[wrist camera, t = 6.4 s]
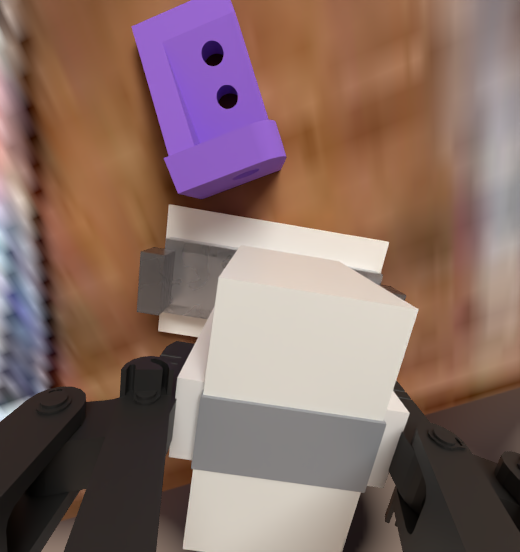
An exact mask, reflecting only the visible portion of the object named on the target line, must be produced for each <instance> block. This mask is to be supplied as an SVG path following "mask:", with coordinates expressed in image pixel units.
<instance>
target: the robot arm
mask: <svg viewBox="0 0 520 552" xmlns="http://www.w3.org/2000/svg"><path fill="white" fill-rule="evenodd" d="M214 308H215V306H214ZM214 308H213V310H212V312H211V314H210V316H209V318H208V320H207V322H206V324H205V325H204V327H203V329H202V331H201V333H200V335H199V337H198V339H197V341H196V343H195V344H192V343H185V342H179V341H176V342H174V343H172V344H170V345H169V346H167V347H166V348H165V350H164V351H163V353H162V354H161V355H160V357H155V356H148V357H140V358H137V359H133V360H132V361H130V362H128V363H126V364H125V365H124V367H123V368H122V369H121V385H120V398H116V399H112V400H105V401H93V402H86V395H85V393H84V392H83V391H82V390H81V389H78V388H75V387H57V388H52V389H48V390H46V391H43V392H40V393H38V394H36V395H34V396H33V397H31V398H30V399H28V400H27V401H25V402H24V403H23V404H22V405H20V406H19V407H18V408H17V409H15V410H14V411H13V412H12V413H11V414H9V415H8V416H7V417H6V418H4V419H3V420H2V421H1V422H0V552H41V551H42V549H43V548H44V546H45V545H46V543H47V541H48V540H49V538H50V537H51V535H52V533H53V532H54V530H55V528H56V527H57V525H58V524H59V523H60V521H61V519H62V518H63V516H64V515H65V513H66V512H67V510H68V508H69V507H70V505H71V504H72V502H73V501H74V499H75V497H76V496H77V494H78V493H79V491H80V490H82V489H86V492H85V494H84V497H83V500H82V503H81V505H80V508H79V511H78V514H77V517H76V519H75V522H74V525H73V528H72V530H71V533H70V536H69V539H68V542H67V544H66V547H65V550H64V552H156V546H157V536H158V526H159V516H160V505H161V496H162V485H163V475H164V465H165V456H166V454H167V451H168V449H169V446H170V450H169V457H173V458H180V459H187V460H192V457H193V450H194V442H195V434H196V427H197V419H198V411H199V403H200V396H201V394H202V391H203V390H204V384H205V376H206V369H207V361H208V353H209V346H210V338H211V331H212V323H213V316H214ZM404 391H405V390H404V389H403V388H402V387H401V385H400V384H399V383H398V382H397V381H396V382H395V385H394V389H393V392H392V395H391V398H390V401H389V404H388V408H387V411H386V414H385V417H384V421H385V422H386V428H385V431H384V434H383V437H382V440H381V443H380V446H379V449H378V453H377V456H376V459H375V462H374V465H373V468H372V471H371V474H370V477H369V481H368V484H367V486H374V487H381V488H384V486H385V483H386V480H387V477H388V474H389V473H390V474H391V477H392V479H393V481H394V483H395V485H396V486H395V489H394V492H393V494H392V497H391V500H390V503H389V505H388V508H387V511H386V514H385V522H387V523H389V522H390V519H391V517H392V514H393V512H395V517H396V522H395V526H397V527H398V531H399V536H400V541H401V545H402V550H403V552H520V454H518V453H515V452H504V453H503V454H502V456H501V457H500V460H499V462H498V464H497V463H494V462H492V461H489V460H486V459H484V458H481V457H479V456H476V455H473V454H472V453H471V451H470V450H469V448H468V447H467V446H466V444H465V443H464V442H463V441H462V440H461V439H460V438H458V437H457V436H456V435H455V434H453V433H452V432H450V431H448V430H447V429H445V428H443V427H441V426H439V425H436V424H433V423H430V422H429V420H428V419H427V418H426V417H425V415H424V414H423V413H422V412H421V410H420V409H419V408H418V407H417V405H416V404H415V403H414V402H413V400H411V398H410V397H409V395H408V394H407V393H406V392H404Z"/></svg>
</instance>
